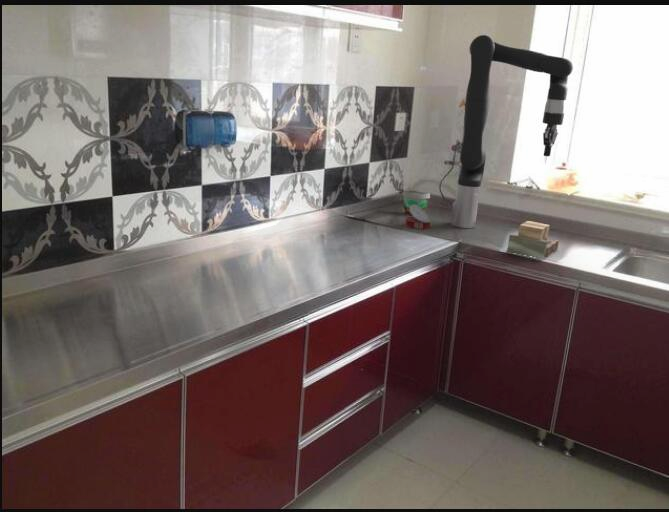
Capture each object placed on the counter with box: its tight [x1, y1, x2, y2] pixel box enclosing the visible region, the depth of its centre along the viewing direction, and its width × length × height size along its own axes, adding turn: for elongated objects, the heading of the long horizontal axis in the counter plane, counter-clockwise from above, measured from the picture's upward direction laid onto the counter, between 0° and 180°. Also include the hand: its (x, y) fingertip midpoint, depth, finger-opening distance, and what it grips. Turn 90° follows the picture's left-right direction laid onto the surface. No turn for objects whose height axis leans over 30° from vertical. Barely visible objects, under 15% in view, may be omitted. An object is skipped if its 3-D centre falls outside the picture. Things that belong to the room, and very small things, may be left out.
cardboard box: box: [517, 220, 551, 241], centre depth 232 cm, size 10×8×7 cm
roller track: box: [506, 233, 560, 260], centre depth 236 cm, size 20×13×6 cm, turn 147°
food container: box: [401, 190, 431, 216], centre depth 280 cm, size 12×6×10 cm, turn 81°
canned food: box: [405, 204, 431, 230], centre depth 260 cm, size 11×10×10 cm
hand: (546, 156), depth 256 cm, fingers closed
